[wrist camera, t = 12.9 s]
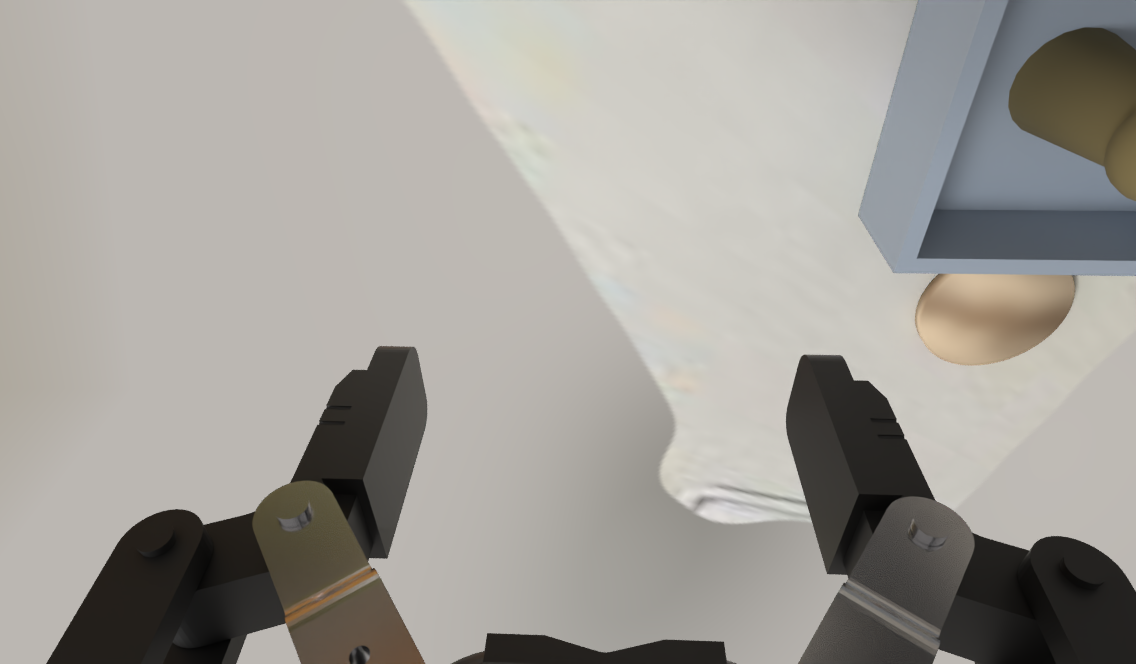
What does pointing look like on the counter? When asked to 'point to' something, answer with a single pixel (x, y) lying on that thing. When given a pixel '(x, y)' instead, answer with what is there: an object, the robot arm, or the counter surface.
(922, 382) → the counter surface
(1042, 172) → the bin
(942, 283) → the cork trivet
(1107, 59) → the pepper shaker
